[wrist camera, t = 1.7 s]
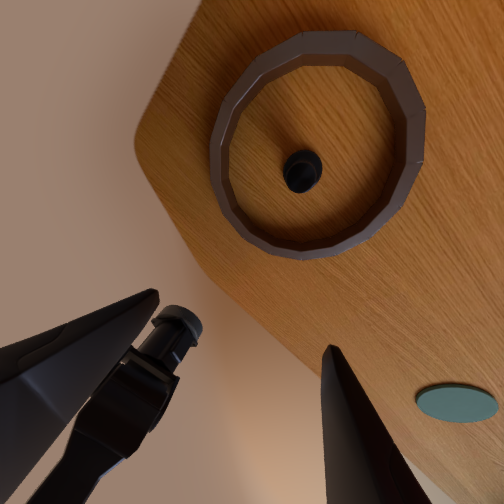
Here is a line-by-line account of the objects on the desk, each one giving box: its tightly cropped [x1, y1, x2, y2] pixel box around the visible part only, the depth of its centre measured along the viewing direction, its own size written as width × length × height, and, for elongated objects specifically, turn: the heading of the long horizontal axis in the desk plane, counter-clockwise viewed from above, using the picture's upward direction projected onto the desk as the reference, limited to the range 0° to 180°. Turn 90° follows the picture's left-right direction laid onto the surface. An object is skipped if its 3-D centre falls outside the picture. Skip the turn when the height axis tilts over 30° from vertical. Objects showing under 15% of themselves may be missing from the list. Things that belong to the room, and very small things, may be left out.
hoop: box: [209, 30, 426, 260], centre depth 16 cm, size 15×15×2 cm
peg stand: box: [283, 150, 322, 193], centre depth 15 cm, size 3×3×4 cm
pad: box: [416, 384, 498, 423], centre depth 25 cm, size 8×8×1 cm
